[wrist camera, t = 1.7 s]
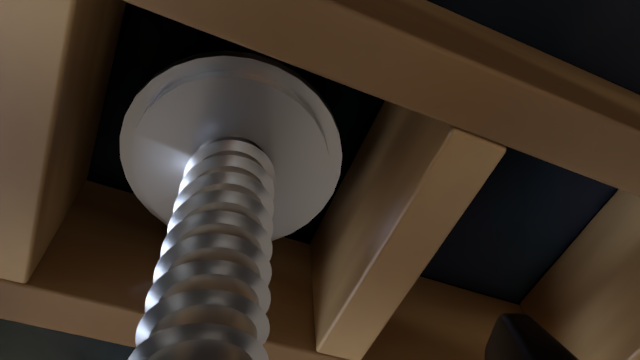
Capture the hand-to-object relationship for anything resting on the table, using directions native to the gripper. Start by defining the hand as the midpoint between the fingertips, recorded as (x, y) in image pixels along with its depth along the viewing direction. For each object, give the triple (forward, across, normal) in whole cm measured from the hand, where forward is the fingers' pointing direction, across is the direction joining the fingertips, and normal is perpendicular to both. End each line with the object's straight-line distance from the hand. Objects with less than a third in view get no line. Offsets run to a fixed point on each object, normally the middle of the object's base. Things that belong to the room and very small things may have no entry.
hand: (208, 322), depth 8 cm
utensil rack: (+7, -4, +1) cm, 8 cm away
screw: (+7, 0, 0) cm, 7 cm away
